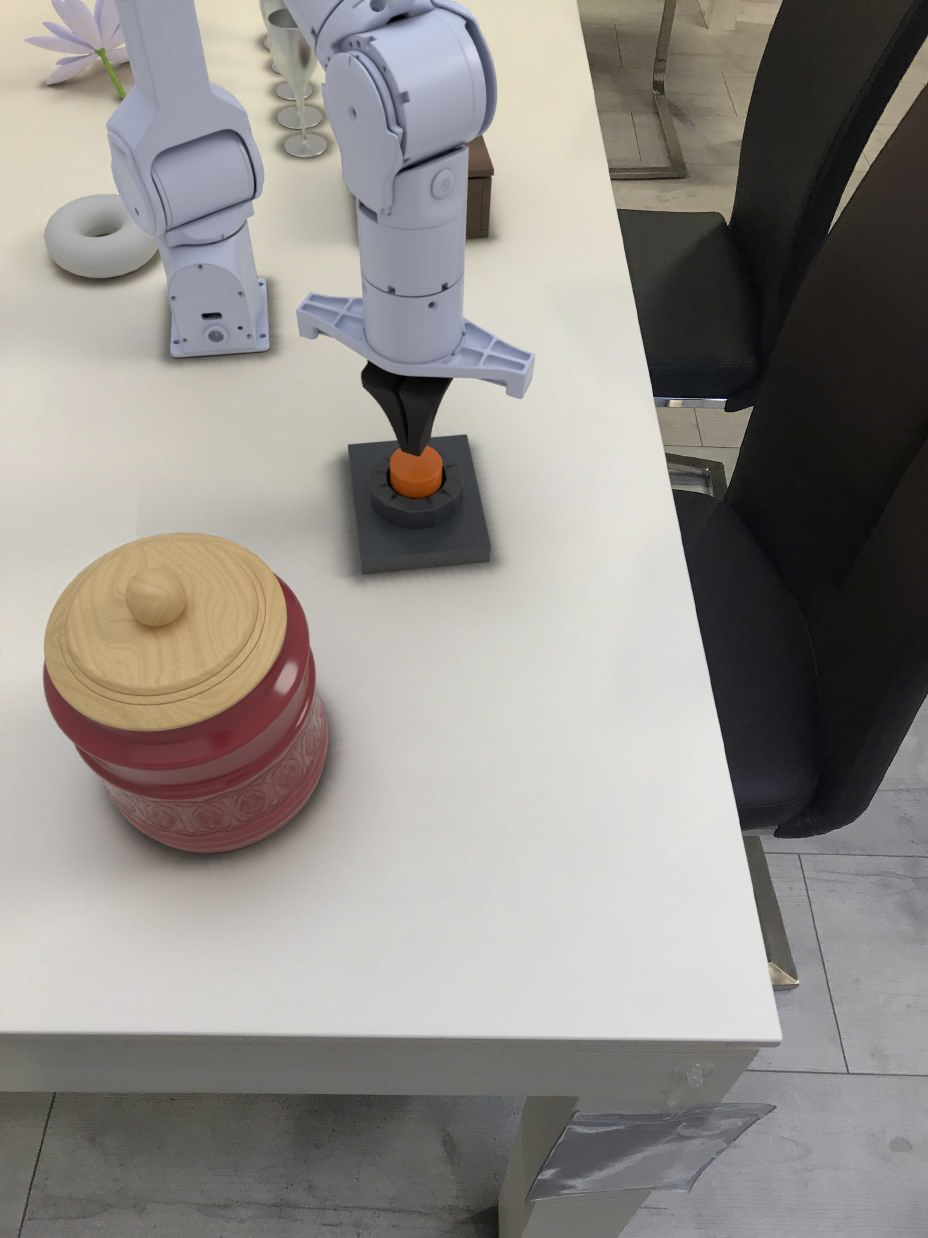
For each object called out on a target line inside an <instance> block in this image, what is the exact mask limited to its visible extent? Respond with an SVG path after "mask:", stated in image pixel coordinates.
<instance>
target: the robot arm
mask: <svg viewBox="0 0 928 1238" xmlns="http://www.w3.org/2000/svg"><path fill="white" fill-rule="evenodd" d="M283 2H284V3H285V5H286V7H287V9H288V10H289V12H290V14H291V15H292V17H293V19H294V20H295V22H296V24H297V25H298V27H299V29H300V30H301V32H302V34H303V36H304V37H305V39H306V41H307V42H308V44H309V46H310V47H311V49H312V51H313V52H314V54H315V56H316V57H317V59H318V63H319V64H320V66H321V68H322V70H323V71H324V72H325V77H324V82H321V83H320V90H321V96H322V101H323V106H324V110H325V113H326V116H327V119H328V123H329V125H330V129H331V131H332V133H333V135H334V138H335V140H336V143H337V146H338V149H339V155H340V160H341V171H342V178H344V180H345V184H346V188H347V190H348V192H349V193H350V194H352V195H353V196H354V197H355V208H356V221H357V222H356V224H357V238H358V239H357V240H358V252H359V264H360V265H359V266H360V267H359V268H360V280H361V281H360V282H361V294H362V297H361V296H360V297H358V296H357V297H356V296H338V295H337V296H335V295H327V294H323V293H322V294H321V293H317V292H314V291H313V292H312V291H310V292H309V293H308V294H307V295H306V297H305V298H304V299H303V300H302V302H301V303H300V304H299V305H298V307H297V308H296V310H295V314H296V321H297V322H296V323H297V329H298V335H299V337H302V338H305V339H308V340H316V339H317V338H318V337H319V335H321V336H325V337H329V338H332V339H334V340H336V341H337V342H339V343H341V344H343V345H344V346H345V347H347V348H349V349H350V350H352V351H353V352H355V353H357V354H358V355H360V356H361V357H363V358H364V359H366V364H365V366H364V367H363V368H362V370H361V372H360V381H361V385H362V388H363V389H364V390H365V391H366V392H367V393H368V394H369V395H370V396H371V397H372V398H373V399H374V401H375V402H376V403H377V404H378V405H379V407H380V408H381V409H382V411H383V413H384V414H385V416H386V418H387V420H388V422H389V424H390V426H391V428H392V431H393V433H394V435H395V438H396V440H397V441H398V443H399V446H400V449H401V451H402V452H404V453H408V454H411V455H414V456H418V457H419V456H421V454H422V452H423V451H424V449H425V447H426V445H427V444H428V442H429V440H430V439H431V437H432V434H433V433H432V432H433V427H434V423H435V421H436V416H437V413H438V410H439V408H440V405H441V403H442V401H443V399H444V396H445V394H446V392H447V390H448V389H449V387H450V386H451V384H452V382H453V380H454V378H455V379H476V380H479V381H483V382H486V383H491V384H494V385H497V386H500V387H504V388H505V394H506V395H507V396H508V397H511V398H514V399H519V400H522V399H524V397H525V396H526V393H527V391H528V389H529V388H530V385H531V383H532V381H533V379H534V369H535V361H536V353H534V352H530V351H528V350H524V349H522V348H519V347H517V346H515V345H513V344H511V343H509V342H507V341H505V340H503V339H501V338H500V337H498V336H496V335H495V334H494V333H492V332H490V331H488V330H486V329H485V328H483V327H481V326H479V325H478V324H476V323H474V322H473V321H471V320H469V319H467V318H466V317H464V295H465V294H464V293H465V292H464V291H465V267H466V266H465V265H466V264H465V263H466V240H467V239H466V210H467V184H468V155H469V147H468V146H466V145H464V144H466V143H468V142H470V141H472V140H473V139H474V138H475V137H478V136H480V135H483V134H485V133H486V132H487V131H488V129H490V126H491V125H492V122H493V120H494V119H495V115H496V112H497V111H496V110H497V106H498V104H497V103H498V80H497V79H498V78H497V72H496V66H495V63H494V58H493V55H492V52H491V49H490V47H489V44H488V42H487V40H486V37H485V35H484V34H483V31H482V29H481V27H480V24H479V22H478V19H477V18H476V16H475V15H474V14H473V13H472V12H471V11H470V10H469V9H468V8H467V7H466V6H464V5H463V4H462V3H460V2H458V1H456V0H283ZM114 3H115V7H116V10H117V14H118V18H119V22H120V26H121V30H122V34H123V38H124V45H125V46H124V47H126V50H127V54H128V57H129V61H128V62H129V65H130V70H131V72H132V76H133V80H134V84H133V85H132V87H131V89H129V91H128V93H126V97H125V98H124V99H123V100H122V99H121V102H120V103H119V104H118V106H117V107H116V108H115V109H114V111H113V112H112V113H111V114H110V116H109V117H108V119H107V121H106V123H105V127H106V130H107V133H106V136H107V141H108V146H109V149H110V157H111V159H110V168H111V174H112V178H113V181H114V185H115V187H116V191H117V193H118V195H120V197H121V199H122V202H123V204H124V206H125V207H126V209H127V211H128V213H129V214H130V216H131V218H132V219H133V221H134V222H135V223H136V224H137V226H138V227H139V228H140V229H141V230H143V231H144V232H146V233H148V234H149V235H151V236H153V237H156V240H157V244H158V251H159V255H160V259H161V262H162V267H163V270H164V273H165V277H166V295H167V299H168V303H169V306H170V310H171V324H170V325H171V326H170V347H169V348H170V355H171V357H173V358H191V357H203V356H215V355H216V356H217V355H218V356H219V355H230V354H243V353H257V352H258V353H259V352H266V351H268V350H269V349H270V347H271V345H270V328H269V327H270V326H269V308H268V307H269V306H268V288H267V287H268V286H267V279H266V278H264V277H258V273H257V268H256V262H255V256H254V249H253V246H252V245H253V244H252V240H251V233H250V228H249V222H248V219H249V218H250V217H252V216H254V215H255V210H254V203H253V201H255V200H257V199H259V198H260V197H261V195H262V194H263V189H264V183H265V170H264V169H265V168H264V163H263V160H262V155H261V153H260V150H259V147H258V145H257V142H256V140H255V138H254V135H253V132H252V128H251V124H250V120H249V116H248V113H247V110H246V109H245V107H244V106H243V105H242V103H241V102H240V101H239V100H238V98H237V97H235V95H233V93H232V92H230V91H229V90H227V89H226V88H224V87H223V86H221V85H220V84H219V83H216V82H213V81H212V80H210V78H209V73H208V67H207V62H206V58H205V57H206V56H205V52H204V46H203V41H202V36H201V30H200V26H199V20H198V15H197V9H196V5H195V0H114Z"/></svg>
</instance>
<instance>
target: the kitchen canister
mask: <svg viewBox="0 0 928 1238" xmlns="http://www.w3.org/2000/svg"><path fill="white" fill-rule="evenodd" d="M44 632H45V633H44V638H43V656H44V659H43V666H42V686H43V694H44V697H45V702H46V704H47V707H48V710H49V712H50V715H51V716H52V718H53V720H54V721H55V723H56V725H57V726H58V728H59V730H60V731H61V732H62V733H63V734H64V735H65V736H66V737H67V738H68V739H69V741H71V742H72V743H73V745H74V747H75V750H76V751H77V753H78V755H79V756H80V758H81V759H82V761H83V762H84V763H85V764H86V766H87V767H88V768H90V770H91V771H92V773H95V775H97V776H98V777H99V778H100V780H101V781H102V782H103V783H104V786H105V788H106V791H107V793H108V795H109V798H110V799H111V801H112V803H113V804H114V806H115V808H117V809H118V811H120V813H121V814H122V816H123V817H124V818H125V819H126V821H127V822H129V823H130V824H131V825H132V826H133V827H134V828H135V829H137V830H138V831H139V832H141V833H142V834H144V835H145V836H147V837H149V838H150V839H153V840H154V841H157V842H159V843H161V844H163V845H165V846H168V847H171V848H173V849H176V850H181V851H184V852H191V853H200V854H211V853H212V854H214V853H216V854H217V853H224V852H230V851H235V850H238V849H242V848H245V847H248V846H251V845H253V844H256V843H259V842H260V841H262V840H265V839H266V838H268V837H269V836H271V835H273V834H275V833H276V832H278V831H279V830H280V829H281V828H283V827H284V826H285V825H287V824H288V823H289V822H290V821H292V820H293V818H295V817H296V816H297V814H298V813H300V812H301V810H302V809H303V808H304V807H305V805H306V804H307V802H308V801H309V800H310V798H311V797H312V795H313V793H314V791H315V790H316V788H317V786H318V784H319V781H320V779H321V776H322V774H323V770H324V766H325V763H326V758H327V753H328V747H329V726H328V719H327V713H326V709H325V707H324V706H325V705H324V703H323V699H322V697H321V695H320V692H319V691H318V686H317V669H316V662H315V657H314V653H313V649H312V646H311V640H310V639H311V638H310V637H311V636H310V628H309V623H308V620H307V616H306V613H305V610H304V608H303V605H302V604H301V602H300V600H299V599H298V597H297V596H296V594H295V593H294V591H293V590H292V589H291V587H290V586H289V585H288V584H287V583H286V582H285V581H284V580H283V579H282V578H281V577H280V576H279V575H278V574H277V573H276V572H274V571H273V570H272V569H271V568H270V567H269V566H268V565H267V563H266V562H264V560H263V559H262V558H260V557H259V556H258V555H256V554H255V553H254V552H253V551H251V550H250V549H248V548H246V547H245V546H243V545H242V544H239V543H237V542H235V541H233V540H229V539H227V538H224V537H220V536H216V535H213V534H207V533H199V532H168V533H161V534H155V535H150V536H146V537H142V538H138V539H136V540H133V541H130V542H128V543H125V544H122V545H120V546H118V547H116V548H114V549H112V550H110V551H108V552H106V553H105V554H103V555H101V556H100V557H98V558H97V559H95V560H94V561H92V562H91V563H90V564H88V565H87V566H86V567H85V568H83V569H82V570H81V571H80V572H78V574H77V575H76V576H75V577H74V578H73V579H72V580H71V581H70V582H69V584H67V586H66V587H65V589H64V590H63V591H62V592H61V594H60V595H59V596H58V598H57V600H56V602H55V604H54V606H53V607H52V610H51V612H50V614H49V617H48V620H47V623H46V626H45V630H44Z"/></svg>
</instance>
